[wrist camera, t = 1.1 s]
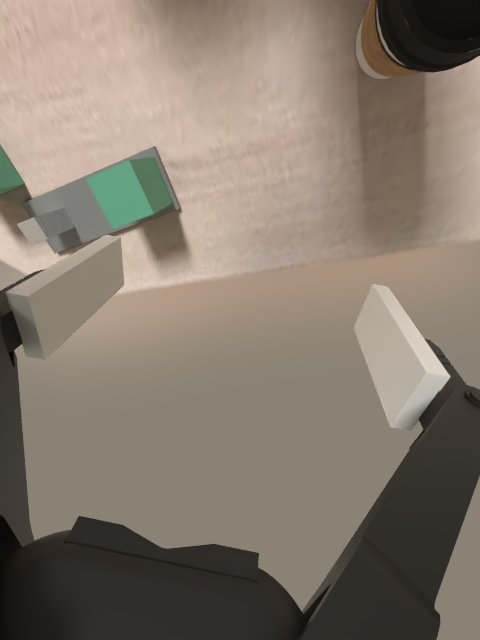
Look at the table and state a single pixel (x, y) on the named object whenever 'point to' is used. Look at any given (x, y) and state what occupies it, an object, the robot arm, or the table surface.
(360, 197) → the table surface
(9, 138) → the table surface
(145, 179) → the stand
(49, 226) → the post
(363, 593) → the robot arm
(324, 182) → the table surface
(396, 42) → the coffee cup
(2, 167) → the green block
